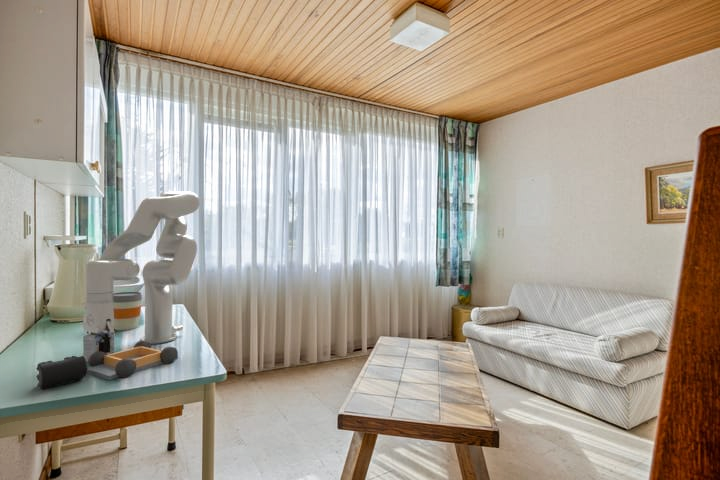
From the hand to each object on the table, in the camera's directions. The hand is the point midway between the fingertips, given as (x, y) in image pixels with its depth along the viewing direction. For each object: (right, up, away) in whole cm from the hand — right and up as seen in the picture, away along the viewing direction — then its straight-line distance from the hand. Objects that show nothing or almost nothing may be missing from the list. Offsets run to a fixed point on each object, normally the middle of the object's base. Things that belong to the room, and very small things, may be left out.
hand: (99, 351), depth 126 cm
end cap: (+4, -3, -21) cm, 21 cm away
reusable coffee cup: (-17, -2, +41) cm, 45 cm away
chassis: (+15, -3, -5) cm, 16 cm away
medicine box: (0, -3, 0) cm, 3 cm away
